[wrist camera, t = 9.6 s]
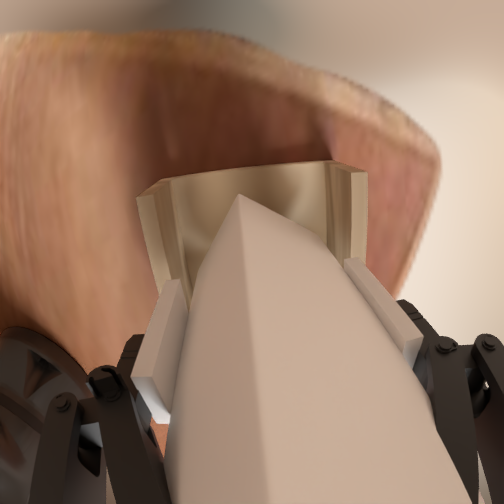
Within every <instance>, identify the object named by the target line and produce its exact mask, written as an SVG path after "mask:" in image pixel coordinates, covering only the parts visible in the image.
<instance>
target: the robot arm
mask: <svg viewBox="0 0 504 504" xmlns="http://www.w3.org/2000/svg"><path fill="white" fill-rule="evenodd" d="M344 271H345V272H346V273H347V275H348V276H349V277H350V279H351V280H352V282H353V283H354V284H355V286H356V287H357V289H358V290H359V291H360V293H361V294H362V296H363V297H364V298H365V300H366V301H367V303H368V304H369V305H370V307H371V308H372V310H373V311H374V313H375V314H376V316H377V317H378V318H379V320H380V321H381V323H382V324H383V326H384V327H385V329H386V330H387V332H388V333H389V335H390V336H391V338H392V339H393V341H394V342H395V344H396V345H397V347H398V348H399V350H400V351H401V353H402V355H403V356H404V358H405V359H406V361H407V362H408V364H409V365H410V367H411V369H412V370H413V372H414V373H415V375H416V377H417V378H418V380H419V381H420V383H421V385H422V386H423V388H424V390H425V391H426V393H427V395H428V396H429V398H430V401H431V405H432V410H433V415H434V420H435V425H436V430H437V433H438V434H439V436H440V438H441V440H442V442H443V444H444V446H445V448H446V450H447V452H448V454H449V456H450V458H451V460H452V462H453V464H454V466H455V468H456V470H457V472H458V474H459V476H460V478H461V480H462V482H463V484H464V486H465V489H466V491H467V493H468V495H469V497H470V500H471V502H472V504H478V502H479V473H478V454H477V451H478V453H479V457H480V460H481V463H482V466H483V470H484V473H485V476H486V480H487V484H488V487H489V492H490V496H491V500H492V504H504V346H503V344H502V343H501V341H500V340H499V339H498V338H497V337H495V336H493V335H491V334H481V335H479V336H478V337H477V338H476V340H475V342H474V345H458V343H457V342H456V341H454V340H453V339H451V338H449V337H444V336H439V335H438V334H437V332H436V331H435V330H434V329H433V328H432V326H431V325H430V324H429V323H428V322H427V321H426V319H424V318H423V316H422V315H421V314H420V313H419V312H418V310H417V309H416V308H415V307H414V306H413V304H411V303H409V302H407V301H406V300H404V299H403V300H398V301H395V300H394V298H393V297H392V296H391V295H390V294H389V293H388V291H387V290H386V289H385V288H384V287H383V285H382V284H381V283H380V282H379V281H378V280H377V278H376V277H375V276H374V275H373V274H372V273H371V272H370V270H369V269H368V268H367V267H366V266H365V265H364V264H363V263H362V261H361V260H360V259H359V258H358V257H355V258H348V259H344ZM188 315H189V313H188V309H187V305H186V301H185V297H184V293H183V289H182V285H181V281H180V279H174V280H166V281H165V283H164V286H163V288H162V291H161V293H160V296H159V298H158V301H157V303H156V306H155V309H154V311H153V314H152V317H151V319H150V322H149V325H148V327H147V330H146V333H145V334H137V335H133V336H132V337H131V338H130V339H129V340H128V341H127V342H126V345H125V347H124V349H123V352H122V354H121V357H120V359H119V362H118V364H117V367H114V366H110V365H104V366H100V367H98V368H95V369H94V370H93V371H91V372H90V373H89V375H88V376H87V375H86V374H85V372H84V371H83V370H82V369H81V367H80V366H79V365H78V364H77V363H76V362H75V361H74V360H73V359H72V358H71V357H70V356H69V355H68V354H67V353H66V352H65V351H63V350H62V349H61V348H60V347H59V346H57V345H56V344H55V343H53V342H52V341H50V340H49V339H47V338H45V337H44V336H42V335H40V334H38V333H36V332H34V331H32V330H29V329H26V328H22V327H10V328H7V329H6V330H4V331H3V333H2V334H1V335H0V504H106V469H108V473H109V477H110V482H111V485H112V489H113V493H114V496H115V500H116V504H172V502H171V498H170V493H169V489H168V484H167V480H166V475H165V470H164V464H163V463H164V458H163V455H162V453H161V450H160V448H159V445H158V442H157V439H156V436H155V434H154V431H153V429H152V427H151V426H150V422H151V417H153V418H154V420H155V422H156V423H158V424H169V421H170V415H171V408H172V402H173V396H174V390H175V384H176V378H177V373H178V367H179V362H180V356H181V351H182V346H183V340H184V335H185V330H186V325H187V320H188ZM485 382H487V384H488V385H489V388H487V387H486V385H485Z"/></svg>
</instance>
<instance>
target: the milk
mask: <svg viewBox="0 0 504 504" xmlns="http://www.w3.org/2000/svg"><path fill="white" fill-rule="evenodd" d="M163 464H164V470H165V475H166V480H167V484H168V489H169V493H170V498H171V502H172V504H472V502H471V500H470V497H469V495H468V493H467V491H466V489H465V486H464V484H463V482H462V480H461V478H460V476H459V474H458V472H457V470H456V468H455V466H454V464H453V462H452V460H451V458H450V456H449V454H448V452H447V450H446V448H445V446H444V444H443V442H442V440H441V438H440V436H439V434H438V433H437V430H436V425H435V420H434V415H433V410H432V405H431V401H430V398H429V396H428V395H427V393H426V391H425V390H424V388H423V386H422V385H421V383H420V381H419V380H418V378H417V377H416V375H415V373H414V372H413V370H412V369H411V367H410V365H409V364H408V362H407V361H406V359H405V358H404V356H403V355H402V353H401V351H400V350H399V348H398V347H397V345H396V344H395V342H394V341H393V339H392V338H391V336H390V335H389V333H388V332H387V330H386V329H385V327H384V326H383V324H382V323H381V321H380V320H379V318H378V317H377V316H376V314H375V313H374V311H373V310H372V308H371V307H370V305H369V304H368V303H367V301H366V300H365V298H364V297H363V296H362V294H361V293H360V291H359V290H358V289H357V287H356V286H355V284H354V283H353V282H352V280H351V279H350V277H349V276H348V275H347V273H346V272H345V271H344V269H343V268H342V267H341V265H340V264H339V262H338V261H337V260H336V258H335V257H334V256H333V254H332V253H331V252H330V250H329V249H328V248H327V247H326V245H325V244H324V243H323V241H322V240H321V239H320V237H319V236H318V235H317V234H315V233H313V232H311V231H310V230H308V229H306V228H304V227H302V226H300V225H299V224H297V223H295V222H293V221H291V220H289V219H287V218H285V217H284V216H282V215H280V214H278V213H276V212H274V211H272V210H270V209H268V208H266V207H265V206H263V205H261V204H259V203H257V202H255V201H253V200H251V199H249V198H247V197H245V196H243V195H241V194H238V195H237V197H236V199H235V201H234V202H233V204H232V206H231V208H230V210H229V212H228V214H227V216H226V217H225V219H224V221H223V223H222V225H221V227H220V229H219V231H218V233H217V235H216V236H215V238H214V240H213V242H212V244H211V246H210V248H209V250H208V252H207V254H206V256H205V258H204V260H203V262H202V264H201V266H200V268H199V270H198V273H197V277H196V282H195V287H194V291H193V296H192V301H191V305H190V310H189V315H188V320H187V325H186V330H185V335H184V340H183V346H182V351H181V356H180V362H179V367H178V373H177V378H176V384H175V390H174V396H173V402H172V408H171V415H170V421H169V428H168V434H167V441H166V448H165V456H164V463H163ZM478 504H485V502H484V500H483V497H482V495H481V493H480V491H479V502H478Z"/></svg>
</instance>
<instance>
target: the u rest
mask: <svg viewBox="0 0 504 504" xmlns="http://www.w3.org/2000/svg"><path fill="white" fill-rule="evenodd" d="M238 194H241V195H243V196H245V197H247V198H249V199H251V200H253V201H255V202H257V203H259V204H261V205H263V206H265V207H266V208H268V209H270V210H272V211H274V212H276V213H278V214H280V215H282V216H284V217H285V218H287V219H289V220H291V221H293V222H295V223H297V224H299V225H300V226H302V227H304V228H306V229H308V230H310V231H311V232H313V233H315V234H317V235H318V236H319V237H320V239H321V240H322V241H323V243H324V244H325V245H326V247H327V248H328V249H329V250H330V252H331V253H332V254H333V256H334V257H335V258H336V260H337V261H338V262H339V264H340V265H341V267H342V268H343V269H344V259H348V258H355V257H358V258H359V259H360V260H361V261H362V263H363V264H364V265H365V260H366V243H367V215H368V172H366V171H363V170H360V169H358V168H355V167H352V166H349V165H346V164H343V163H340V162H337V161H334V160H327V161H310V162H295V163H283V164H271V165H261V166H251V167H242V168H234V169H225V170H218V171H210V172H203V173H196V174H189V175H183V176H177V177H170V178H165V179H161V180H159V181H158V182H156V183H155V184H154V185H152V186H151V187H149V188H148V189H147V190H145V191H144V192H142V193H141V194H140V195H138V196H137V197H136V202H137V206H138V211H139V216H140V221H141V225H142V230H143V234H144V238H145V243H146V247H147V251H148V255H149V259H150V263H151V267H152V271H153V274H154V278H155V282H156V285H157V289H158V293H159V296H160V293H161V291H162V288H163V286H164V283H165V281H166V280H174V279H180V281H181V285H182V289H183V293H184V297H185V301H186V305H187V309H188V313H189V310H190V305H191V301H192V296H193V291H194V287H195V282H196V277H197V273H198V270H199V268H200V266H201V264H202V262H203V260H204V258H205V256H206V254H207V252H208V250H209V248H210V246H211V244H212V242H213V240H214V238H215V236H216V235H217V233H218V231H219V229H220V227H221V225H222V223H223V221H224V219H225V217H226V216H227V214H228V212H229V210H230V208H231V206H232V204H233V202H234V201H235V199H236V197H237V195H238Z"/></svg>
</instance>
